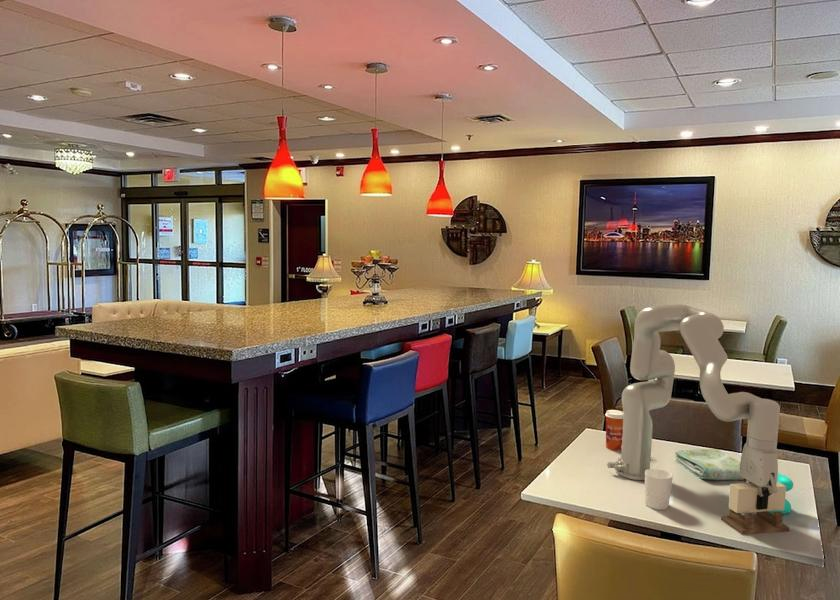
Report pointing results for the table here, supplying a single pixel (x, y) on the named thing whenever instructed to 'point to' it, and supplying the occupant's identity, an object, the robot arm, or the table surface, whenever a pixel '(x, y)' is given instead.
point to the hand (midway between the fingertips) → (756, 505)
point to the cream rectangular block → (754, 498)
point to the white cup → (657, 488)
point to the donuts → (789, 486)
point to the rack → (756, 522)
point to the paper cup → (614, 429)
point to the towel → (709, 464)
